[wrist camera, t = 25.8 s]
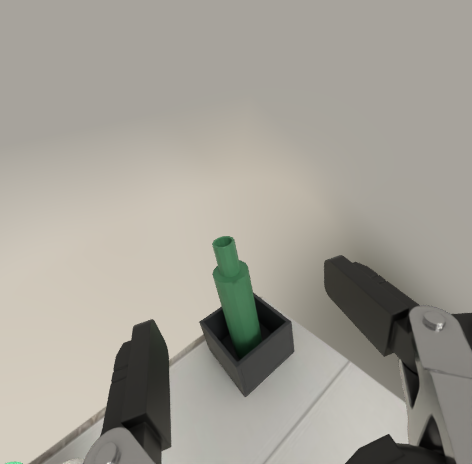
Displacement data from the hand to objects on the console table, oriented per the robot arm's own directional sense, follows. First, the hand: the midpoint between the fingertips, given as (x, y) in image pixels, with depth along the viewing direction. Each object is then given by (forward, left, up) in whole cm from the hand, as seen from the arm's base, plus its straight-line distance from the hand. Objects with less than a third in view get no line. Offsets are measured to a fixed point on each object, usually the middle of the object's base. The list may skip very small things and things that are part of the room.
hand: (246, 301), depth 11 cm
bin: (-3, -20, -32) cm, 38 cm away
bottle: (-3, -20, -32) cm, 38 cm away
